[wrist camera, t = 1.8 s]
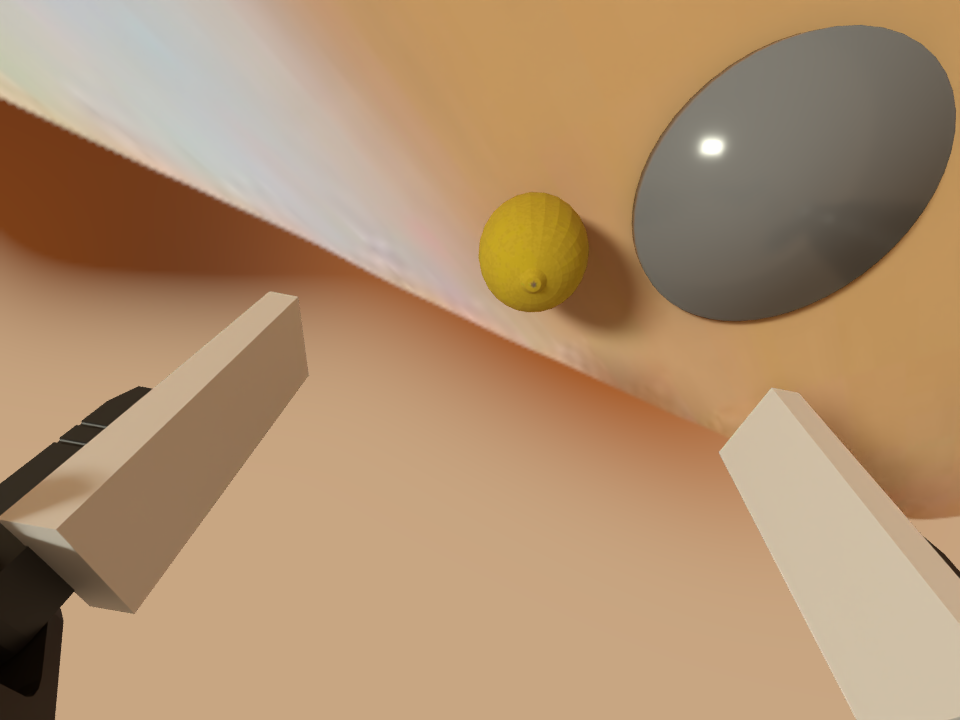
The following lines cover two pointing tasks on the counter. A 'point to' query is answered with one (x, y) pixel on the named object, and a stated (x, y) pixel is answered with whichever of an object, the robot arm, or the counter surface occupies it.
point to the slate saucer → (793, 172)
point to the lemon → (533, 252)
